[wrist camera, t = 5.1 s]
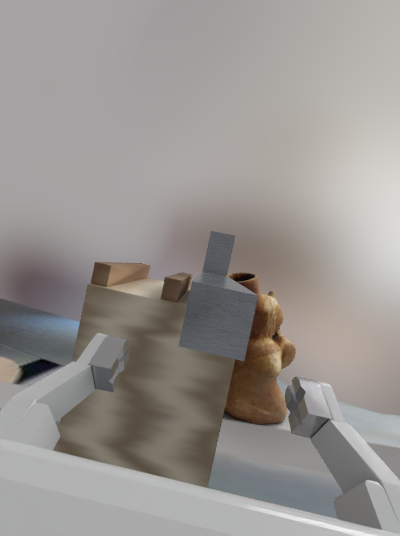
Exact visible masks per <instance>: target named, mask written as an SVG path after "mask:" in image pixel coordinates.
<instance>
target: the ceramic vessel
mask: <svg viewBox="0 0 400 536" xmlns="http://www.w3.org/2000/svg"><path fill="white" fill-rule="evenodd" d="M227 277H229V278H231V279H232V280H234V281H236V282H237V283H239V284H240V285H242V286H244V287H245V288H247V289H249V290H250V291H252V292H253V293H255V294H257V295H258V300H257V304H256V309H255V314H254V318H253V323H252V327H251V332H250V336H249V341H248V346H247V350H246V355H245V359H244V361H240V360H236V359H235V363H234V368H233V372H232V377H231V382H230V386H229V391H228V395H227V400H226V405H225V409H224V410H225V411H226V412H227V413H229V414H230V415H232V416H234V417H236V418H239V419H241V420H244V421H247V422H251V423H256V424H269V423H277V422H282V421H284V419H285V417H286V413H287V408H286V404H285V400H284V397H283V394H282V392H281V390H280V388H279V386H278V384H277V380H276V377H277V376H278V375H279V374H280V372H281V369H283V368H285V367H287V366H288V365H289V364H290V363H291V362H292V361H293V359H294V357H295V353H296V349H295V346H294V345H293V344H292V342H290V341H289V340H288V339H286V338H285V337H284V336H283V335H282V334H281V332H280V331H279V329H280V328H279V327H280V325H281V324H282V322H283V315H282V310H281V309H280V306H279V304H278V302H277V301H276V300H275V292H274V291H270V292H269V294H268V295H265V294H261V293H260V290H259V285H258V279H257V276H256V275H255V274H251V273H234V274H228V275H227ZM274 333H275V334H274Z"/></svg>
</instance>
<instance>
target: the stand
mask: <svg viewBox="0 0 400 536" xmlns="http://www.w3.org/2000/svg"><path fill="white" fill-rule="evenodd" d="M149 268H150V265H146V264H142V263H111V262H95V265H94V270H93V275H92V280H91V284H88V285H87V290H86V295H85V301H84V305H83V310H82V315H81V320H80V325H79V330H78V335H77V340H76V345H75V350H74V355H73V360H72V362H73V361H74V362H76V361H77V360H78V359H79V357H80V356H81V354H82V353H83V352H84V350H85V349H86V347H87V346H88V345H89V343H90V342H91V340H92V339H93V338H94V336H95V335H96V334H98V333H101V334H106V335H110V336H114V337H118V338H122V339H126V340H129V346H128V350H129V358H128V361H127V365H126V367H125V369H124V370H123V371H122V372H120V379H119V381H118V383H117V386H116V388H115V390H114V392H109V391H104V390H99V389H95V391H93V392H92V393H91V394H90V395H89V396H87V397H86V398H85V399H84V400H83V401H81V402H80V403H79V404H78V405H77V406H75V407H74V408H73V409H72V410H70V411H69V412H68V413H67V414H66V415H64V416H63V417H62V418H61V420H60V425H59V432H60V438H59V440H58V442H57V444H56V445H55V450H54V451H57V452H61V453H65V454H69V455H73V456H78V457H82V458H86V459H90V460H94V461H98V462H102V463H107V464H111V465H115V466H119V467H123V468H127V469H131V470H136V471H140V472H144V473H148V474H152V475H156V476H160V477H165V478H169V479H173V480H177V481H181V482H185V483H189V484H194V485H198V486H202V487H206V488H207V487H208V483H209V478H210V474H211V469H212V464H213V460H214V455H215V451H216V446H217V441H218V437H219V432H220V428H221V423H222V418H223V414H224V409H225V405H226V400H227V395H228V391H229V386H230V382H231V377H232V372H233V368H234V363H235V359H231V358H227V357H222V356H218V355H214V354H209V353H205V352H200V351H196V350H192V349H187V348H183V347H178V346H179V341H180V336H181V331H182V327H183V322H184V317H185V312H186V308H187V303H188V298H189V293H190V289H191V287H190V283H191V279H192V274H188V273H184V272H183V273H178V274H175V275H171V276H167V277H165V280H164V281H159V280H154V279H150V278H148V273H149Z"/></svg>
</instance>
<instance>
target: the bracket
mask: <svg viewBox="0 0 400 536" xmlns="http://www.w3.org/2000/svg"><path fill="white" fill-rule="evenodd" d="M234 239H235V236H233V235H228V234H223V233H218V232H213V231H211V234H210V239H209V243H208V248H207V253H206V258H205V262H204V267H203V271H202V272H201V273H200V274H199V275H198V276H197V277H196V278H195V279H194V280H193V281H192V284H191V289H190V293H189V298H188V303H187V308H186V312H185V317H184V322H183V327H182V331H181V336H180V341H179V346H178V347H183V348H187V349H192V350H196V351H200V352H205V353H209V354H214V355H218V356H222V357H227V358H231V359H236V360H240V361H244V359H245V355H246V350H247V346H248V341H249V336H250V332H251V327H252V323H253V318H254V314H255V309H256V304H257V300H258V295H257V294H255V293H253V292H252V291H250V290H249V289H247V288H245V287H244V286H242V285H240V284H239V283H237V282H236V281H234V280H232V279H231V278H229V277H227V272H228V267H229V263H230V258H231V253H232V249H233V244H234Z"/></svg>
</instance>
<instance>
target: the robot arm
mask: <svg viewBox="0 0 400 536" xmlns="http://www.w3.org/2000/svg"><path fill="white" fill-rule="evenodd" d="M128 346H129V340H126V339H122V338H118V337H114V336H110V335H106V334H101V333H98V334H96V335H95V336H94V338H93V339H92V340H91V342H90V343H89V345H88V346H87V347H86V349H85V350H84V352H83V353H82V354H81V356H80V357H79V359H78V360H77V361H76V362H74V361H73V362H71V363H69V364H67V365H66V366H64V367H62V368H61V369H59V370H57V371H55V372H54V373H52V374H50V375H48V376H47V377H45V378H43V379H41V380H40V381H38V382H36V383H35V384H33V385H31V386H29V387H28V388H26V389H24V390H23V391H21V392H19V393H18V394H16V395H14V396H13V397H12V398H11V399H10V400H9V402H8V403H7V404H6V405H5V406H4V407H3V408H2V409H1V411H0V536H400V480H399V479H398V478H397V477H396V476H395V475H394V474H393V472H392V471H391V470H390V469H389V468H388V467H387V466H386V464H385V463H384V462H383V461H382V460H381V459H380V458H379V457H378V456H377V454H376V453H375V452H374V451H373V450H372V449H371V448H370V447H369V445H368V444H367V443H366V442H365V441H364V440H363V439H362V438H361V436H360V435H359V434H358V433H357V432H356V431H355V430H354V429H353V427H352V426H351V425H350V424H349V423H346V422H345V420H344V417H343V415H342V412H341V410H340V407H339V405H338V402H337V400H336V397H335V395H334V392H333V390H332V387H331V386H330V385H329V384H328V383H323V382H318V381H315V380H311V379H306V378H300V377H294V378H293V380H292V383H293V384H292V385H289V386H288V387H287V389H286V393H285V402H286V407H287V408H288V410H289V411H290V412H291V413H290V415H289V417H288V418H289V423H290V428H291V433H292V434H296V435H300V436H304V437H308V438H311V441H312V443H313V445H314V446H315V448H316V449H317V451H318V452H319V454H320V456H321V457H322V459H323V460H324V462H325V464H326V465H327V467H328V469H329V470H330V472H331V473H332V475H333V477H334V478H335V480H336V481H337V483H338V485H339V486H340V488H341V489H342V491H343V494H342V495H340V496H338V497H337V498H335V500H334V501H333V503H334V506H335V510H336V514H337V518H338V519H334V518H330V517H326V516H322V515H318V514H314V513H310V512H305V511H301V510H297V509H293V508H289V507H285V506H281V505H276V504H272V503H268V502H264V501H260V500H256V499H252V498H247V497H243V496H239V495H235V494H231V493H227V492H223V491H218V490H214V489H210V488H206V487H202V486H198V485H194V484H189V483H185V482H181V481H177V480H173V479H169V478H165V477H160V476H156V475H152V474H148V473H144V472H140V471H136V470H131V469H127V468H123V467H119V466H115V465H111V464H107V463H102V462H98V461H94V460H90V459H86V458H82V457H78V456H73V455H69V454H65V453H61V452H57V451H53V449H54V447H55V445H56V444H57V442H58V440H59V438H60V432H59V430H58V427H57V425H56V422H57V421H58V420H60V419H61V418H62V417H63V416H64V415H66V414H67V413H68V412H69V411H70V410H72V409H73V408H74V407H75V406H77V405H78V404H79V403H80V402H81V401H83V400H84V399H85V398H86V397H87V396H89V395H90V394H91V393H92V392H93V391H95V389H99V390H104V391H109V392H114V390H115V388H116V386H117V383H118V381H119V379H120V372H122V371H123V370H124V369H125V367H126V365H127V361H128V358H129V350H128Z"/></svg>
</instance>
